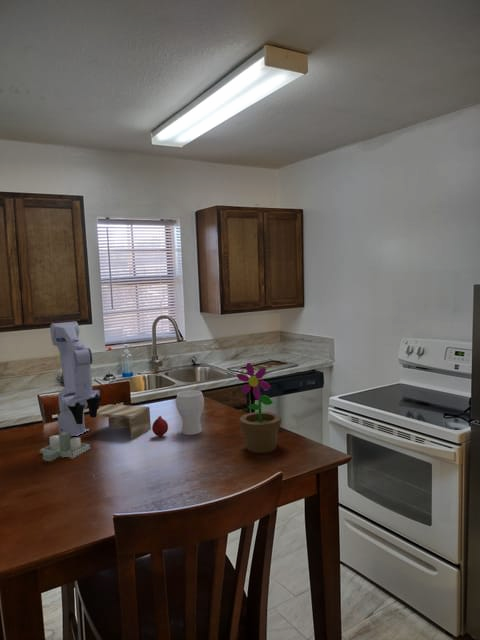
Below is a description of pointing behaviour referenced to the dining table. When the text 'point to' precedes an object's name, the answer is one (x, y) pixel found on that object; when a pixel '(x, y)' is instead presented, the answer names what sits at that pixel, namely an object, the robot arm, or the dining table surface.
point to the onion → (160, 427)
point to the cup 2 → (190, 410)
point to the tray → (68, 454)
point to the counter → (127, 418)
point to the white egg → (75, 444)
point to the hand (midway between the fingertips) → (86, 420)
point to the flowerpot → (259, 416)
